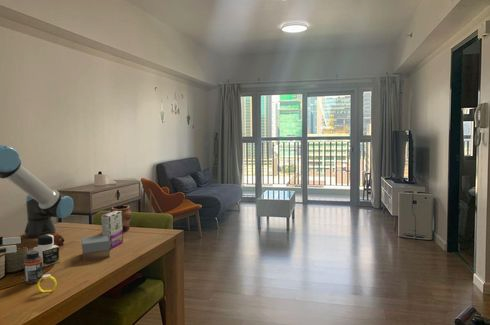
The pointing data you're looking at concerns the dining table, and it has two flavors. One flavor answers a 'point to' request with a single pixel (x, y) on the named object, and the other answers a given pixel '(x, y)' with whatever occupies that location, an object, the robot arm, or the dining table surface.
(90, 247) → the slate block
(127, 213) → the decorative planter
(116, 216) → the candy bar box
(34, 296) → the dining table surface
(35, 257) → the supplement bottle
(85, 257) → the clear shallow container
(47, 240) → the medicine bottle
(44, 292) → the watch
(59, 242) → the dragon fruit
